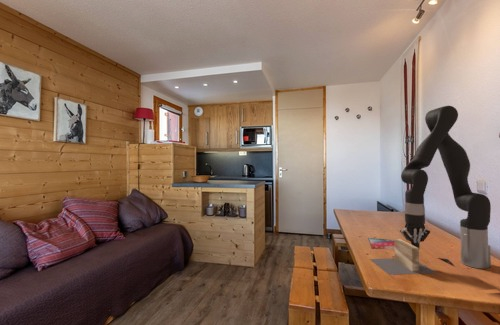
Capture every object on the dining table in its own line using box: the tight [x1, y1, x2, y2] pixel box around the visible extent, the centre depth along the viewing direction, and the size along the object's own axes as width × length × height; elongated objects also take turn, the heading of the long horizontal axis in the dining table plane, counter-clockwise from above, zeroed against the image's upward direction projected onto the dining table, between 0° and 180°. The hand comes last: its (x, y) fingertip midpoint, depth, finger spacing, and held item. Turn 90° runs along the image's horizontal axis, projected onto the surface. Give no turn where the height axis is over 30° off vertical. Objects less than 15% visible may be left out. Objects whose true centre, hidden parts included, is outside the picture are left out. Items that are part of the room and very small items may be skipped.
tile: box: [393, 238, 420, 272], centre depth 107 cm, size 3×12×10 cm, turn 1°
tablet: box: [368, 237, 395, 250], centre depth 134 cm, size 19×25×1 cm
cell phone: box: [437, 257, 454, 267], centre depth 113 cm, size 8×15×1 cm, turn 66°
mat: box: [369, 257, 438, 276], centre depth 107 cm, size 21×16×1 cm
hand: (415, 250), depth 107 cm, fingers closed
